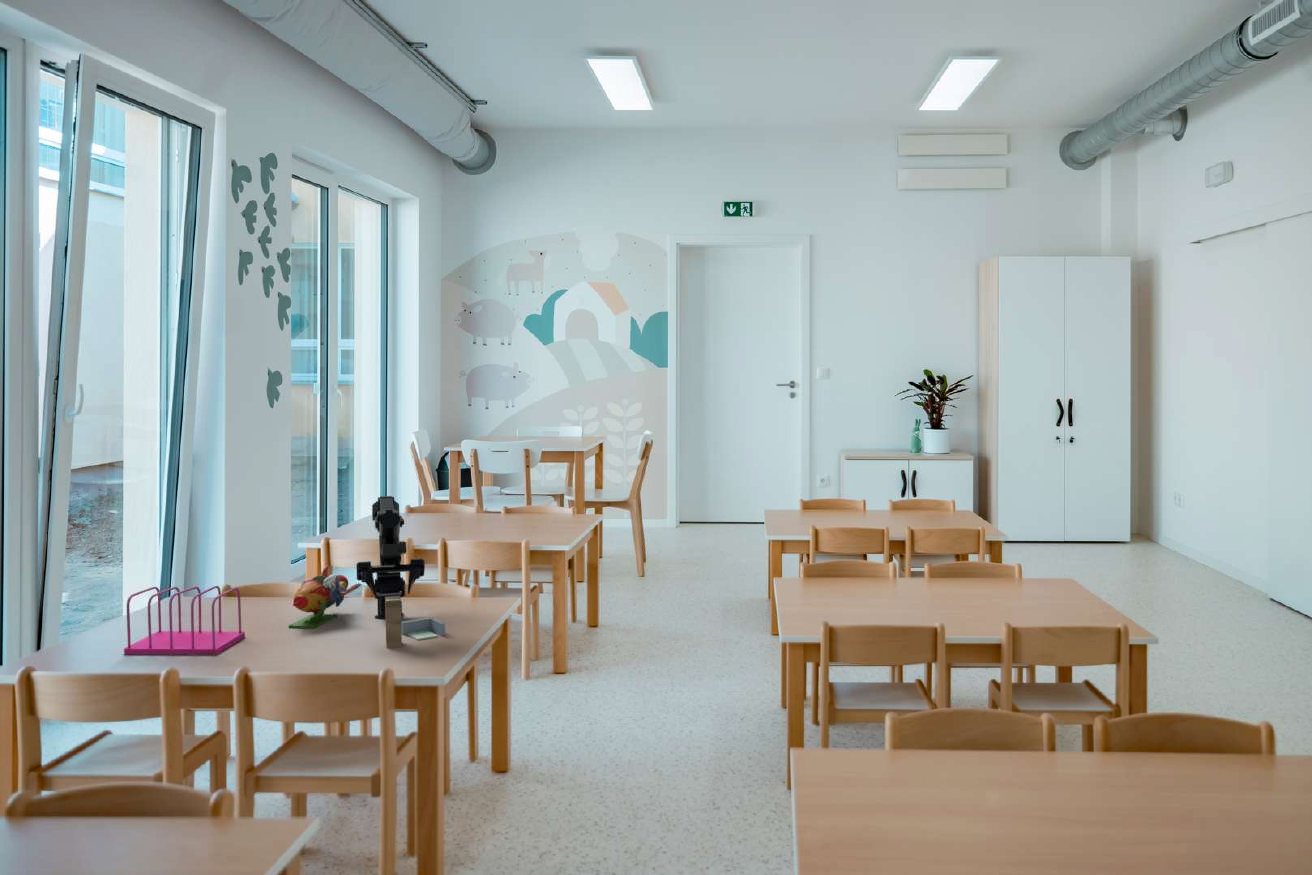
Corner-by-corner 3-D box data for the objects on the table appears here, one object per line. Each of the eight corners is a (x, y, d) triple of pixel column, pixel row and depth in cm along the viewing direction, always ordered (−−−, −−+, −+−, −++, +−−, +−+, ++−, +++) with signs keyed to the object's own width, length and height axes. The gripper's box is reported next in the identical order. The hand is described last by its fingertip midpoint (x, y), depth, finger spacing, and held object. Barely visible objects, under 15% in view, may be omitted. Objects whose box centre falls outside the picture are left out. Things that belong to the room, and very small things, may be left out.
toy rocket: (274, 631, 281) (273, 579, 280) (317, 610, 305) (315, 562, 304) (320, 633, 279) (319, 580, 278) (359, 611, 303) (358, 563, 302)
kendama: (332, 606, 316) (356, 587, 334) (327, 588, 315) (351, 569, 333) (310, 610, 318) (335, 590, 335) (305, 592, 316) (330, 573, 334)
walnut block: (386, 643, 268) (385, 596, 267) (400, 641, 269) (400, 595, 268) (386, 648, 263) (385, 600, 262) (401, 646, 264) (400, 599, 263)
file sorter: (158, 637, 275) (156, 582, 274) (245, 637, 274) (243, 583, 273) (123, 655, 257) (121, 596, 256) (216, 655, 257) (214, 597, 256)
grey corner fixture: (401, 633, 277) (401, 621, 277) (433, 628, 283) (433, 616, 282) (413, 640, 270) (412, 628, 270) (445, 635, 275) (445, 623, 275)
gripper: (355, 533, 272) (356, 580, 263) (423, 530, 278) (427, 575, 268) (356, 556, 280) (357, 602, 271) (422, 553, 286) (425, 597, 276)
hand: (392, 594), depth 271 cm, fingers open, 9 cm apart
